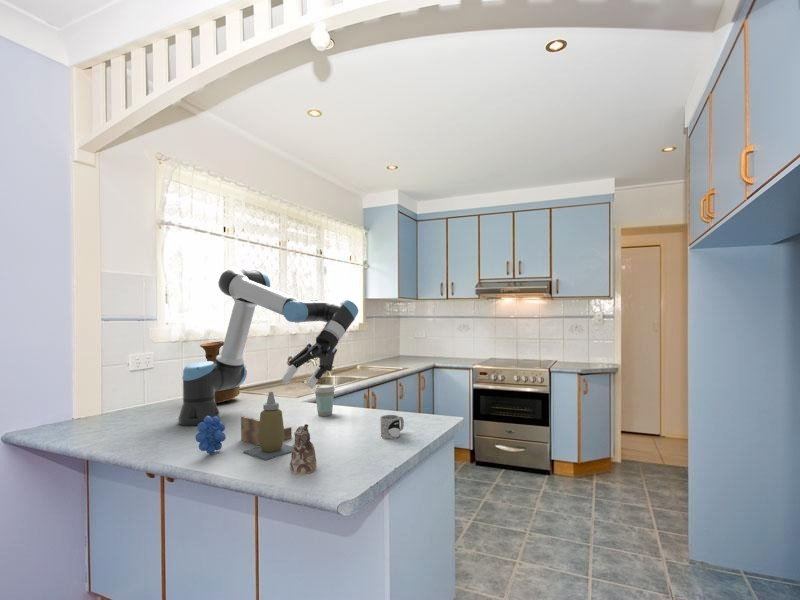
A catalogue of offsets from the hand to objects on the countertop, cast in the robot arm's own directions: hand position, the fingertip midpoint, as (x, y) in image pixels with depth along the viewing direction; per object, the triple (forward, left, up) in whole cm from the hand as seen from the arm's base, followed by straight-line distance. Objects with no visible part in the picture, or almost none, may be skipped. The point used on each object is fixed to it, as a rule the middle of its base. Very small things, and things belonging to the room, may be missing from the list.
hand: (296, 384), depth 145 cm
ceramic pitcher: (-87, +19, -20) cm, 91 cm away
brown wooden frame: (-13, -3, -20) cm, 24 cm away
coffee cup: (-23, +32, -20) cm, 44 cm away
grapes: (-12, -22, -20) cm, 32 cm away
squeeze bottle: (0, -10, -19) cm, 22 cm away
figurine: (+21, -14, -20) cm, 32 cm away
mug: (+20, +26, -20) cm, 38 cm away
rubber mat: (0, -10, -20) cm, 22 cm away
